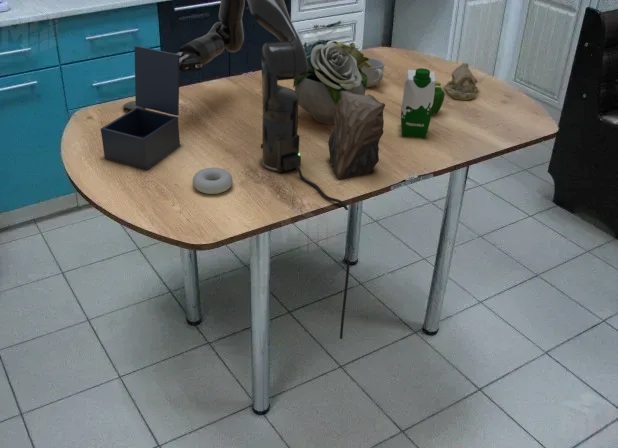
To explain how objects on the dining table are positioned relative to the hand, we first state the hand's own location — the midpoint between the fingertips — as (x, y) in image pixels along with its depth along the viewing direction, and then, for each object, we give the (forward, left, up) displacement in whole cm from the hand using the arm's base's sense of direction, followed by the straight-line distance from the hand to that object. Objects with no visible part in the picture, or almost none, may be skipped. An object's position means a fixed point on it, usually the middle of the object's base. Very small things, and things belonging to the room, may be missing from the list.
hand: (164, 71), depth 183 cm
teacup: (-1, -74, -19) cm, 76 cm away
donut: (-32, +4, -19) cm, 38 cm away
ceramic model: (-22, -98, -19) cm, 102 cm away
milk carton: (-36, -62, -19) cm, 74 cm away
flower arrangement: (-15, -46, -19) cm, 52 cm away
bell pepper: (-28, -76, -19) cm, 83 cm away
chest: (-6, +11, -19) cm, 23 cm away
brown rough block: (-43, -31, -19) cm, 57 cm away
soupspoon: (+14, +3, -19) cm, 24 cm away
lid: (-2, +4, -1) cm, 4 cm away
